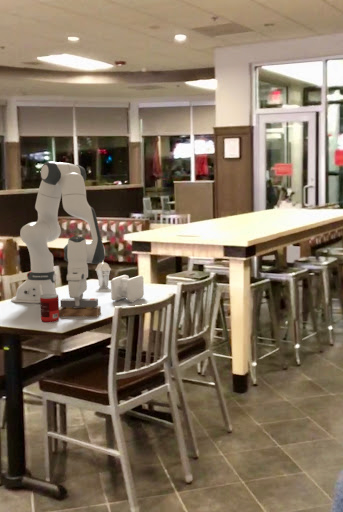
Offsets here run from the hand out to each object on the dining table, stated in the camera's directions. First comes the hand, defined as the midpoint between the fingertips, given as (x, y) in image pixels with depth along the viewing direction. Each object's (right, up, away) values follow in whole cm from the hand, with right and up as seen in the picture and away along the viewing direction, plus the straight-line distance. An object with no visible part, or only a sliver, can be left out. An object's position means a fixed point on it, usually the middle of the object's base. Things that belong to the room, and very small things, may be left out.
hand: (78, 304), depth 305 cm
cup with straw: (+4, +4, +66) cm, 66 cm away
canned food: (-11, -6, -11) cm, 16 cm away
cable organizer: (+20, 0, +32) cm, 37 cm away
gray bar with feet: (0, -3, 0) cm, 4 cm away
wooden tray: (0, -5, 0) cm, 5 cm away
